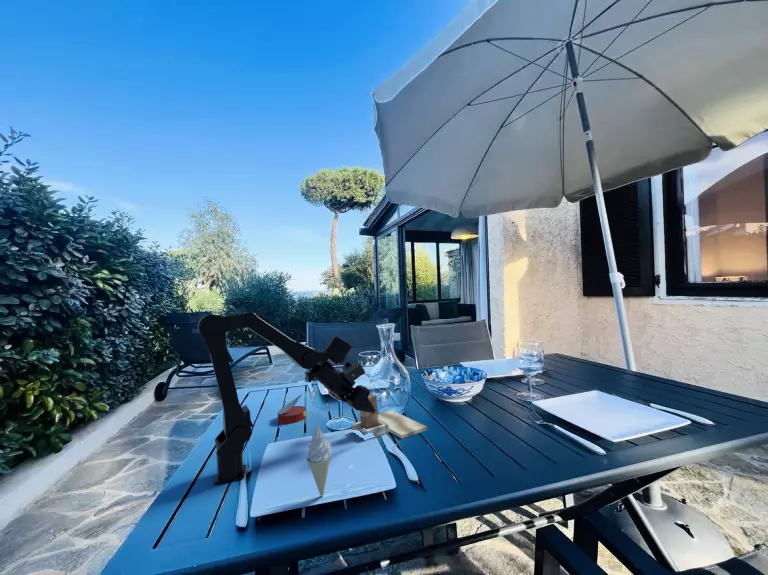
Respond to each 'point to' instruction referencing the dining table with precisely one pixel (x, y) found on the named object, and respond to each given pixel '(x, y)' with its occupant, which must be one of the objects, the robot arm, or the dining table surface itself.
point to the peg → (370, 415)
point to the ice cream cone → (319, 458)
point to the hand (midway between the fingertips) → (367, 407)
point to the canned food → (291, 413)
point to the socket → (392, 425)
